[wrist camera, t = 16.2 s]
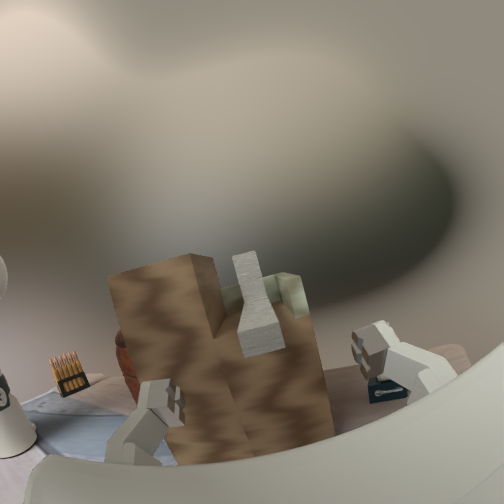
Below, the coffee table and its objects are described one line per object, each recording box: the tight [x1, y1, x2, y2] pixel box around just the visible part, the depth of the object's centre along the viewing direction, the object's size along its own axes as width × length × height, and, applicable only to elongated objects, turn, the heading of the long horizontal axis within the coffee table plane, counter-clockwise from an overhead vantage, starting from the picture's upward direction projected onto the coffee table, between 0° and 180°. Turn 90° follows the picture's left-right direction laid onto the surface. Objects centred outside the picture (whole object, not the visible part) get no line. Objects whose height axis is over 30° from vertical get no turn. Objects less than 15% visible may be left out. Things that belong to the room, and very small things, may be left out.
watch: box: [368, 322, 407, 403], centre depth 32 cm, size 6×8×11 cm
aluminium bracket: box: [232, 251, 286, 358], centre depth 28 cm, size 3×18×8 cm, turn 0°
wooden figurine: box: [115, 330, 141, 404], centre depth 46 cm, size 12×6×18 cm, turn 56°
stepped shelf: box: [107, 253, 336, 465], centre depth 34 cm, size 20×16×26 cm
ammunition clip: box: [50, 350, 90, 397], centre depth 60 cm, size 11×2×12 cm, turn 154°
